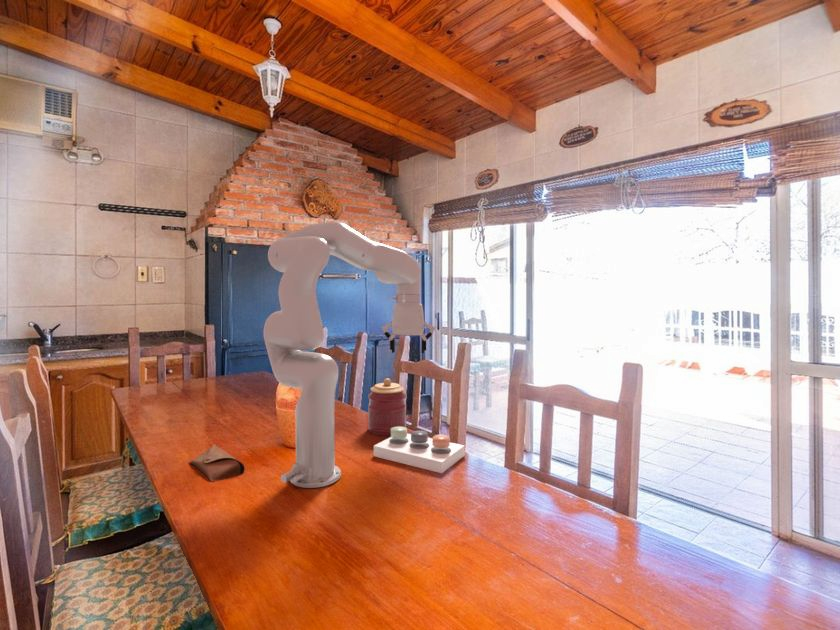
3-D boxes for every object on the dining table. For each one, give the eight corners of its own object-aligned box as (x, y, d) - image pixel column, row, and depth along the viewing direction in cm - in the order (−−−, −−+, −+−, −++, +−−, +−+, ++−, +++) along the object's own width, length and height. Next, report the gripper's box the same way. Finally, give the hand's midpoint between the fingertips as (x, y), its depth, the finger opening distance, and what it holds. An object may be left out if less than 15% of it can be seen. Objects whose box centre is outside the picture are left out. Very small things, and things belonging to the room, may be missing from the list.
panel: (441, 473, 112) (442, 461, 112) (373, 456, 124) (373, 445, 123) (464, 455, 124) (464, 444, 124) (400, 441, 136) (400, 431, 135)
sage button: (401, 439, 124) (401, 432, 124) (387, 436, 126) (387, 429, 126) (410, 434, 128) (410, 428, 128) (396, 432, 131) (396, 425, 130)
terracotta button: (444, 449, 117) (444, 441, 117) (429, 445, 119) (429, 438, 119) (452, 443, 121) (452, 436, 121) (437, 440, 123) (437, 433, 123)
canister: (386, 439, 138) (386, 384, 137) (359, 430, 146) (359, 378, 145) (414, 429, 147) (414, 378, 146) (388, 421, 156) (388, 373, 155)
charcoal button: (422, 444, 120) (422, 437, 120) (407, 441, 123) (407, 434, 123) (430, 439, 125) (430, 432, 124) (416, 436, 127) (416, 429, 127)
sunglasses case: (185, 462, 118) (198, 438, 120) (208, 468, 123) (220, 445, 125) (211, 482, 106) (225, 456, 108) (236, 489, 110) (249, 463, 113)
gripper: (380, 299, 137) (380, 353, 138) (435, 300, 136) (434, 354, 137) (383, 299, 144) (383, 350, 145) (435, 299, 143) (434, 351, 144)
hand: (408, 352), depth 141 cm, fingers open, 9 cm apart
